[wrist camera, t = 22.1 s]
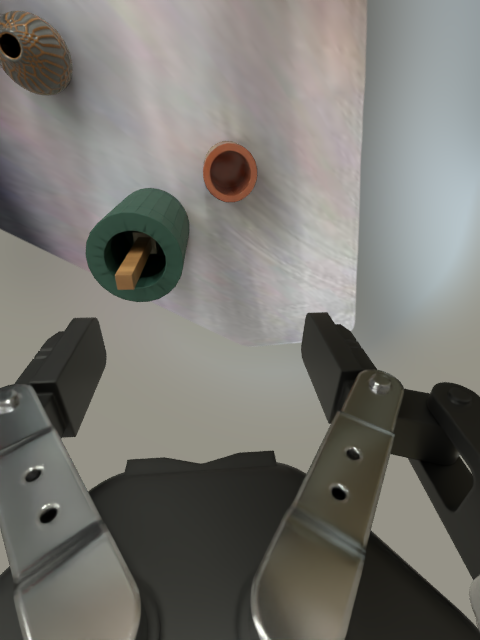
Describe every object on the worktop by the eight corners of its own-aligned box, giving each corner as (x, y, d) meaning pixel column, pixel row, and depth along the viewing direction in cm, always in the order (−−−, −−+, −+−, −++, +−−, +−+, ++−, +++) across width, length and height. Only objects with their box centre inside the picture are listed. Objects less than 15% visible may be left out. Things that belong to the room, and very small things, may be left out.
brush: (143, 216, 47) (106, 268, 30) (162, 216, 47) (137, 268, 30) (145, 235, 48) (112, 295, 31) (164, 235, 49) (141, 295, 32)
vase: (85, 99, 40) (57, 93, 32) (25, 94, 39) (-17, 87, 31) (73, 25, 36) (38, -1, 29) (7, 18, 35) (-46, -10, 28)
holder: (202, 140, 43) (202, 142, 37) (251, 141, 44) (258, 143, 38) (204, 192, 46) (204, 202, 40) (249, 192, 47) (255, 202, 41)
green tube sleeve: (112, 187, 45) (75, 212, 32) (187, 188, 46) (179, 212, 33) (124, 258, 50) (96, 302, 38) (191, 257, 51) (185, 301, 39)
